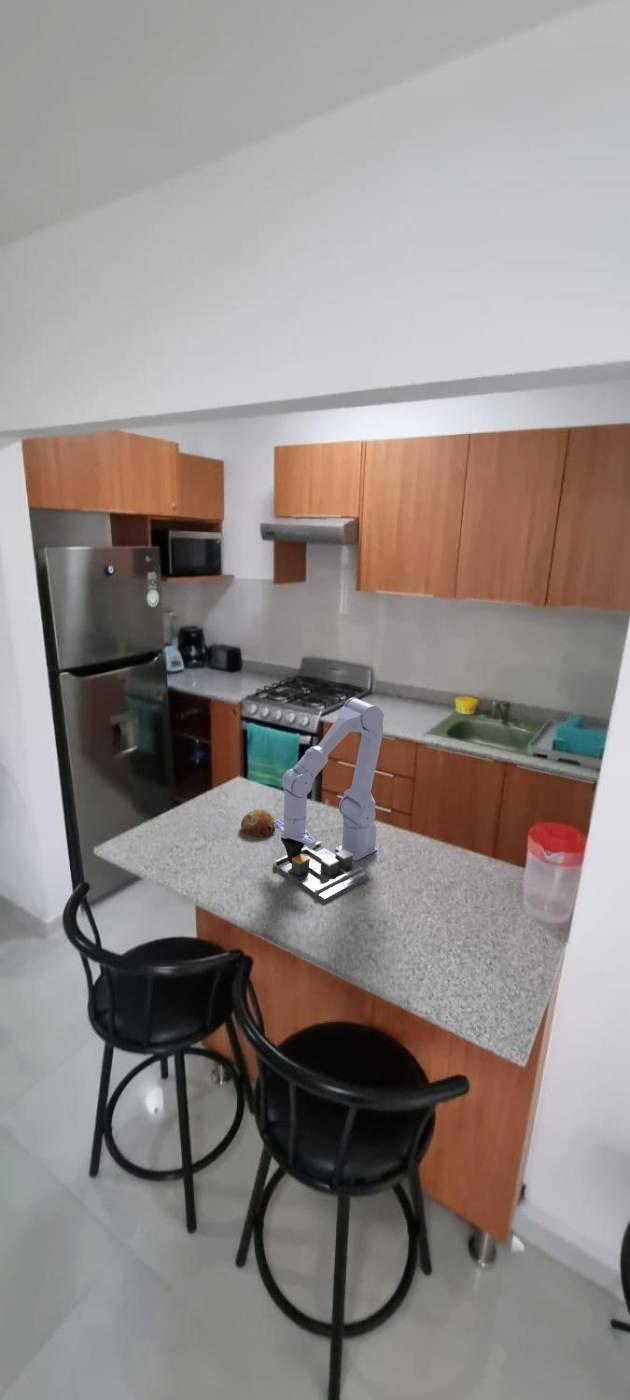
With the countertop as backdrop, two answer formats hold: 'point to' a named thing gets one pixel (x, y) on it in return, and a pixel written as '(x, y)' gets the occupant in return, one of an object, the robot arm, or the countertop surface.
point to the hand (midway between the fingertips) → (293, 861)
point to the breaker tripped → (300, 864)
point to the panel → (322, 874)
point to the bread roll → (258, 823)
